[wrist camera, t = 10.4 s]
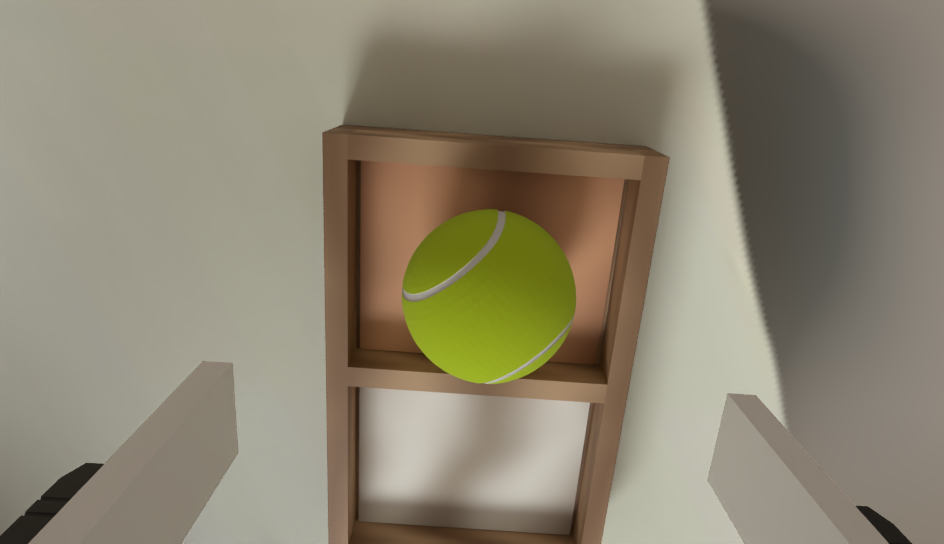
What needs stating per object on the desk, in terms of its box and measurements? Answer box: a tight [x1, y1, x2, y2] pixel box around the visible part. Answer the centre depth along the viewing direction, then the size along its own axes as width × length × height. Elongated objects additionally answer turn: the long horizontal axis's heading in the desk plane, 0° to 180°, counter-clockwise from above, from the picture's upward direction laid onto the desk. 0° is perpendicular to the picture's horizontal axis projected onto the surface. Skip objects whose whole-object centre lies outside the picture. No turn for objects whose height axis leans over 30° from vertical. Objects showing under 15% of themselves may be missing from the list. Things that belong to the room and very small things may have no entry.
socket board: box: [322, 125, 670, 544], centre depth 29 cm, size 14×22×4 cm, turn 176°
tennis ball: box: [402, 209, 576, 384], centre depth 24 cm, size 7×7×7 cm
